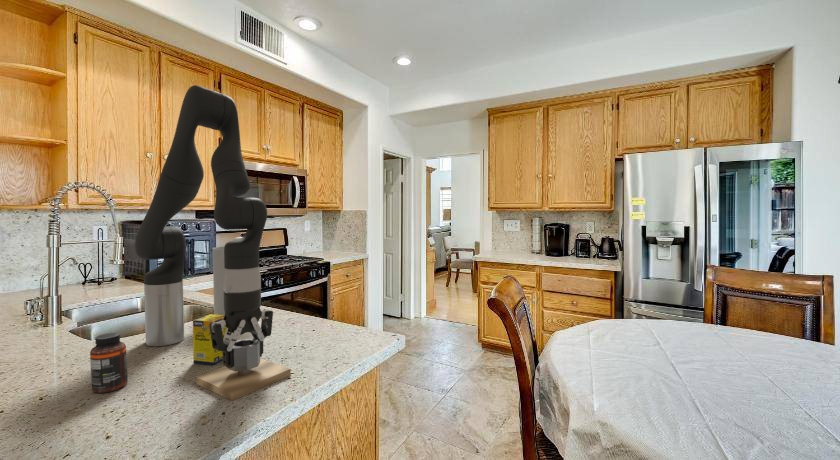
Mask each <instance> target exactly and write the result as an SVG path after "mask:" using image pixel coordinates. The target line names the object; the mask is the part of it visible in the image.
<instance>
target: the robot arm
mask: <svg viewBox="0 0 840 460" xmlns="http://www.w3.org/2000/svg"><path fill="white" fill-rule="evenodd" d="M238 113H239V112H238V109H237V105H236V102H235V101H234V99H233V98H232V97H231V96H229V95H227V94H224V93H222V92H219V91H215V90H212V89H209V88H207V87H204V86H201V85H197V84H195V85H191V86H189V88H188V89H187V91H186V93H185V94H184V98H183V100H182V103H181V108H180V111H179V116H178V120H177V124H176V128H175V133H174V135H173V136H174V137H173V139H172V143H171V146H170V148H169V151H168V154H167V157H166V159H165V162H164V164H163V167H162V169H161V172H160V176H159V178H158V182H157V184H156V187H155V188H156V189H155V192H154V195H153V197H152V200H151V203H150V205H149V208H148V210H147V212H146V214H145V216H144V218H143V220H142V222H141V224H140V227H139V229H138V231H137V234H136V236H135V240H134V249H135V250H134V252H135V254H136V256H137V257H138V258H139V259H142V260H144V261H145V260H147V261H151V260H152V261H153V260H162V259H163V260H162V263H161V264H160V265H159V266H157V267H156V268H154V269H152V270H149V271H147V272H146V273H145V274H144V275H143V290H144V291H143V294H144V295H143V296H144V297H143V298H144V319H145V320H144V324H145V325H144V326H145V329H144V330H145V331H144V333H145V345H146V346H147V347H164V346H170V345H174V344H177V343H180V342H182V341H183V340H185V320H184V319H185V315H184V314H185V311H184V310H185V308H184V307H185V306H184V281H183V280H184V277H183V276H184V273H185V258H186V257H185V255H186V238H185V235H184V232H183V230H182V229H181V228H180V227H178V226H176V225H175V226H173V225H172V226H171V225H168V226H167V224H168V223H169V221H171V220H172V218H174V217H175V216H176V215H177V214H178V213H180V212H181V211H182V210H183V209H185V208H186V207H187V206H189V204H190V203H192V202H193V201H194V200H195V198H196V197H197V196H198V193H199V190H200V187H201V186H202V183H203V180H204V174H205V172H204V167H203V164H202V162H201V159H200V158H201V157H200V155H199V153H198V149H197V147H196V144H195V142H196V141H195V136H196V131H197V127H203V128H207V129H210V130H214V131H219V132H220V134H221V137H222V139H221V141H220V143H219V144H218V145H217V147H216V148H215V150H214V151H213V153H212V156H211V161H210V169H211V172H212V176H213V180H214V185H215V203H214V209H213V219H214V221H215V223H216V225H217V226H218V227H219V228H221V229H222V230H227V231H228V230H229V231H232V230H234V231H235V230H246V232H245V233H244V235H243V236H241V237H242V238H240V239H237V240H235V239H234V240H233V239H232V240H229V241H227V242H226V243H225V244H224V246H223V247H224V277H223V290H224V311H225V316H224V318H223V320H221V321H218V322H211V323H210V324H209V327H210V334H211V341H212V347H213V349H216V350H218V351H222V353H223V360H222V365H223V366H226V367H228V368H232V367H233V351H232V349H233V346H234V344H235V342H236V341H237V340H238V338H239V335H242V334H244V333H246V332H250V333H251V334H252V336H253V338H254V339H257V340H260V358H262V356H263V354H264V341H265V339H266V338H267V337H270V336H271V335H272V330H273V318H274V317H273V316H274V311H273V310H270V309H266V308H264V309H263V310H261V306H262V276H261V270H260V269H261V268H260V247H261V242H262V238H263V237H262V236H263V233H264V230H265V227H266V226H265V225H266V224H267V218H268V208H267V205H266V204H265V202H264V201H263V200H262V199H261V198H258V197H241V196H244V195H245V194H247V193H248V192H249V190H250V187H251V185H250V184H251V183H250V182H251V181H250V179H249V176H248V175H249V174H248V171H247V169H246V166H245V162H244V159H243V154H242V146H241V145H242V144H241V134H240V133H241V132H240V123H239V122H240V121H239V114H238ZM260 320H261V322H260V323H261V324H259V321H260ZM224 326H226V327H227V330H226V332H225V334H224V340H223V334H222V331H223V330H224ZM232 333H233V335H232Z"/></svg>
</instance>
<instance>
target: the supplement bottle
mask: <svg viewBox="0 0 840 460" xmlns="http://www.w3.org/2000/svg"><path fill="white" fill-rule="evenodd" d="M94 339H95V345H94V347H92V348H91V350H90V351H89V355H90V356H89V357H90V358H89V361H90V377H91V378H90V379H91V382H90V383H91V391H92V392H93V393H95V394H96V393H97V394H103V393H104V394H105V393H111V392H114V391H116V390H120V389H121V388H123V387H125V386H126V385H127V383H128V380H129V379H128V377H129V375H128V357H127V356H128V355H127V346H126V344H125V342H122V341H120V340H121V335H120V332H119V333H118V332H109V333H103V334H100V335H97V336H96V337H95V338H94Z"/></svg>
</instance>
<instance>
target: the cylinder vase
mask: <svg viewBox="0 0 840 460" xmlns="http://www.w3.org/2000/svg"><path fill="white" fill-rule="evenodd" d="M212 268H213V270H212V274H213V276H212V277H213V280H212V281H213V314H216V315H225V311H224V290H223V277H224V246H216V247H212Z"/></svg>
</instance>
